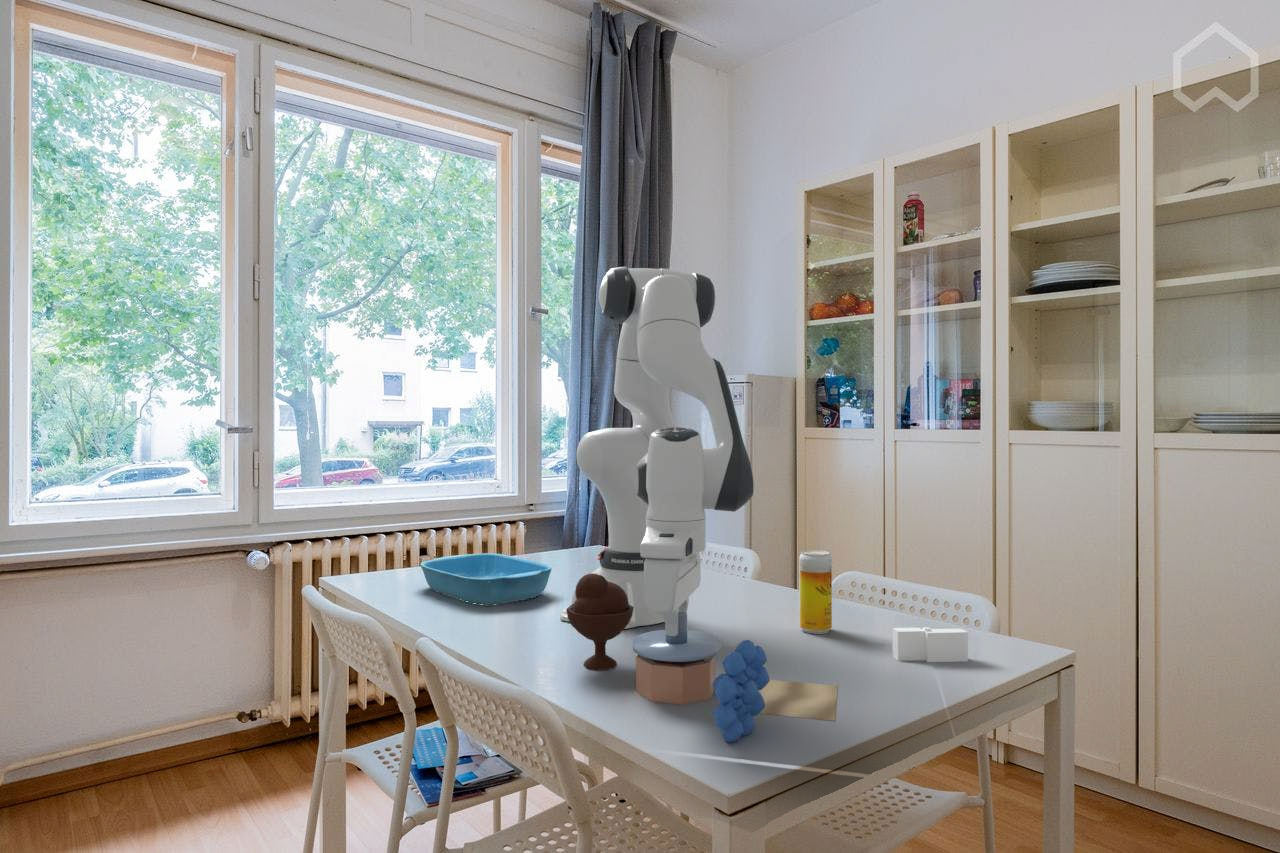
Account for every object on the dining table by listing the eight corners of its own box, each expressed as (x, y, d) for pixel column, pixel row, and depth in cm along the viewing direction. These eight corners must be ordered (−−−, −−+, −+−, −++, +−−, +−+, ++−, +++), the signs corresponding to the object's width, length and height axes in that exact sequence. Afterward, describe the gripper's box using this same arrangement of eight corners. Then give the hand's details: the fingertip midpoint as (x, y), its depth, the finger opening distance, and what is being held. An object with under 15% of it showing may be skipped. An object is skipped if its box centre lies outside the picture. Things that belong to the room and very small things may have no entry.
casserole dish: (406, 587, 187) (406, 558, 187) (486, 575, 202) (486, 548, 202) (482, 615, 159) (482, 581, 159) (569, 599, 174) (569, 568, 174)
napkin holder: (980, 659, 130) (980, 626, 130) (965, 678, 120) (965, 642, 120) (891, 645, 138) (891, 614, 138) (871, 661, 129) (871, 627, 129)
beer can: (832, 635, 143) (832, 555, 143) (799, 633, 144) (799, 554, 144) (830, 627, 149) (830, 550, 149) (799, 625, 150) (799, 549, 150)
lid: (621, 657, 108) (621, 622, 108) (645, 633, 121) (645, 601, 121) (712, 665, 105) (711, 628, 105) (727, 639, 118) (726, 606, 118)
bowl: (629, 701, 109) (629, 663, 109) (650, 676, 120) (650, 641, 120) (705, 709, 106) (705, 669, 106) (719, 683, 117) (719, 647, 117)
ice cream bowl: (580, 679, 119) (580, 583, 118) (559, 659, 129) (559, 570, 129) (643, 670, 123) (643, 577, 123) (617, 651, 133) (617, 566, 133)
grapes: (735, 714, 104) (735, 627, 104) (780, 726, 100) (780, 635, 100) (688, 743, 95) (688, 647, 95) (735, 757, 91) (735, 657, 91)
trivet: (729, 713, 105) (729, 710, 105) (744, 680, 118) (744, 677, 118) (834, 723, 101) (834, 720, 101) (837, 688, 114) (837, 685, 114)
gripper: (671, 527, 124) (671, 612, 124) (636, 547, 104) (636, 648, 104) (710, 528, 122) (710, 614, 122) (681, 549, 102) (681, 652, 102)
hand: (676, 630), depth 113 cm, fingers closed on lid, 3 cm apart
